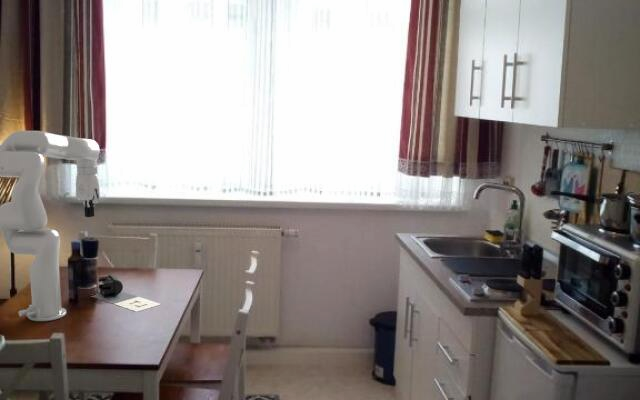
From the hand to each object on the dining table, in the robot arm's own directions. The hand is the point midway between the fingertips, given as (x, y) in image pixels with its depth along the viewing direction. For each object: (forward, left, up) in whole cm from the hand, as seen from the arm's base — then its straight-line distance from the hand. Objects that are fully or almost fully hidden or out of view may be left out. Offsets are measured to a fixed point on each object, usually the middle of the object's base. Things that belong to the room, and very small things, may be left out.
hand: (89, 216), depth 265 cm
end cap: (-1, -14, -29) cm, 32 cm away
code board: (-2, -32, -29) cm, 43 cm away
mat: (-2, -17, -29) cm, 34 cm away
